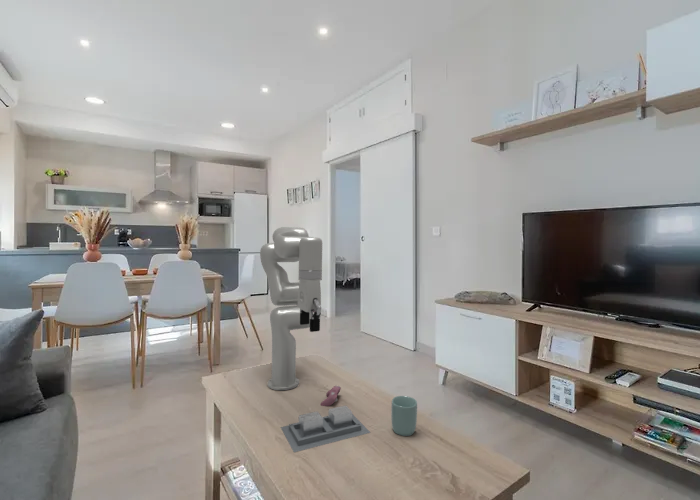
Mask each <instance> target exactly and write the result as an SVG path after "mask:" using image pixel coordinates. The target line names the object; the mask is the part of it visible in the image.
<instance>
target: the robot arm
mask: <svg viewBox="0 0 700 500" xmlns="http://www.w3.org/2000/svg"><path fill="white" fill-rule="evenodd" d="M271 237H272V241H273V242H268V243H265V244H264V245H262V246H261V248H260V250H259V251H260V252H259V255H260V256H259V257H260V263H261V265H262V266H261V267H262V268H263V270H264V273H265V274H266V275H265V276H266V277H267V284H268V290H269V296H270V300H271V303H272V304H273V305H275V306H278V307H276V308H273V309H272V310H271V312H270V313H269V314H270V315H269V322H270V328H271V378H270V379H268V381H267V387H268V388H269V389H271V390H275V391H288V390H289V391H290V390H292V389H295V388H297V387H298V386H299V385H300V379H299V378H298V377H297V376H296V371H297V370H296V369H297V368H296V367H297V366H296V363H297V362H296V358H297V357H296V356H297V353H296V351H297V340H296V338H295V337H294V335H293V334H292V333H291V332H290V331H294V330H295V331H296V330H303V329H309V332H311V333H314V332H315V333H316V332H320V331H321V312H322V294H321V293H322V291H321V290H322V289H321V281H322V279H323V240H322V238H320V237H314V236H309V233H308V231H307V230H306V229H305V228H303V227H295V226H294V227H289V226H284V227H283V226H282V227H278V228H276V229H275V230H274V231H273V233H272V236H271ZM297 262H298V280H299V282H290V281H289V277H288V273H287V271H286V269H284V267H282V266H281V265H280V264H279V263H297Z"/></svg>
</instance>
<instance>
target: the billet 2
mask: <svg viewBox="0 0 700 500" xmlns="http://www.w3.org/2000/svg"><path fill="white" fill-rule="evenodd" d="M352 414H353V411H352V410H351V409H350V408H349V407H348V406H347V405H342V406H341V405H340V406H337V407H333V408H328V416H329V417H328V425H329V426H330V427H331V428H332V430H337V429H341V428H345V427H349V426H352Z"/></svg>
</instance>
